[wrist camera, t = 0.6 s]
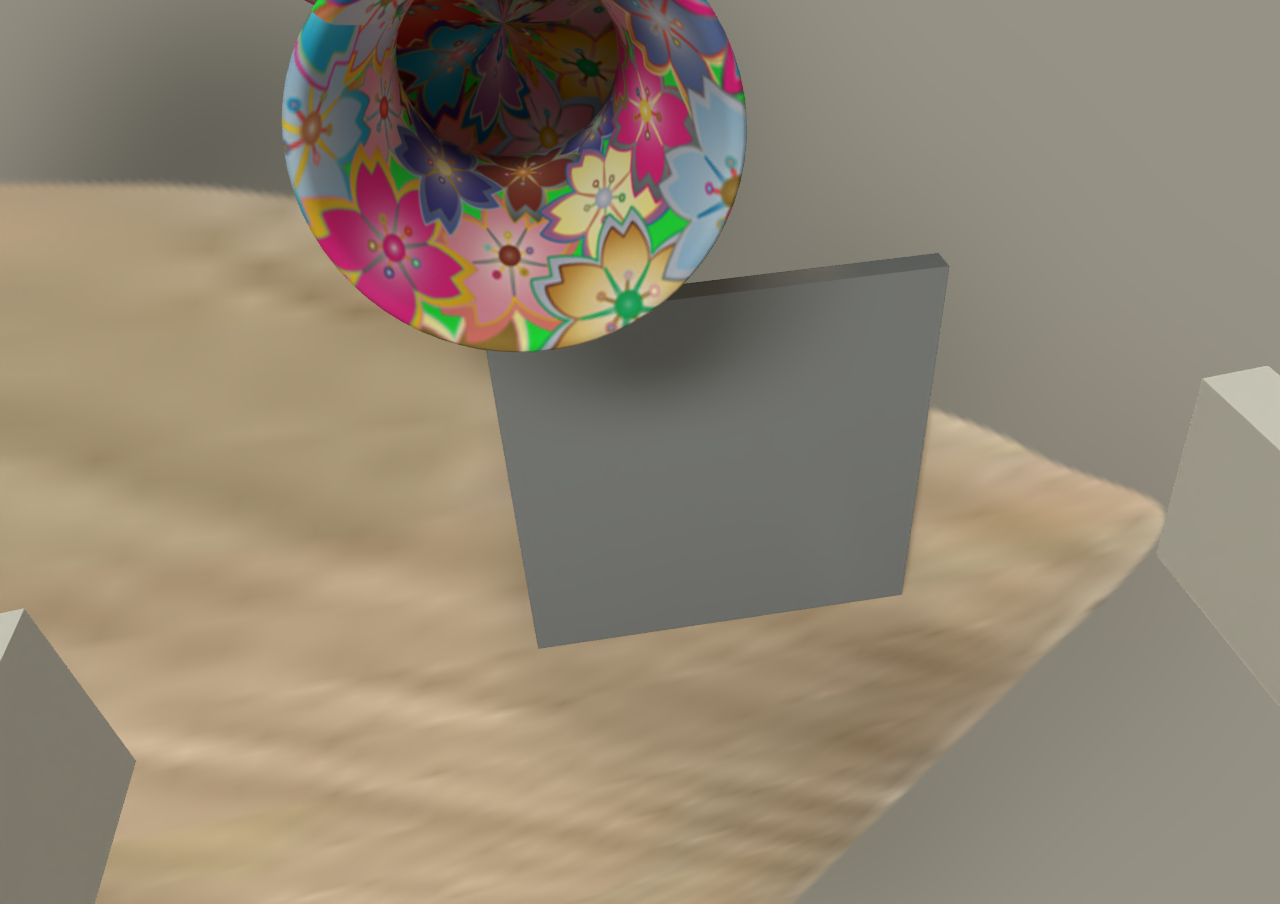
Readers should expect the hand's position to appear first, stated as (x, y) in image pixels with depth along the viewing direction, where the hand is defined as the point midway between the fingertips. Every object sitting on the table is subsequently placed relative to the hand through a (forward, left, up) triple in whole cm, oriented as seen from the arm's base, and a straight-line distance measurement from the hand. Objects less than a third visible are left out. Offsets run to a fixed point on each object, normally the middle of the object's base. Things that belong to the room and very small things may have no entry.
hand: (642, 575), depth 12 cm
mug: (-2, +2, -22) cm, 23 cm away
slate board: (+5, -16, -22) cm, 28 cm away
